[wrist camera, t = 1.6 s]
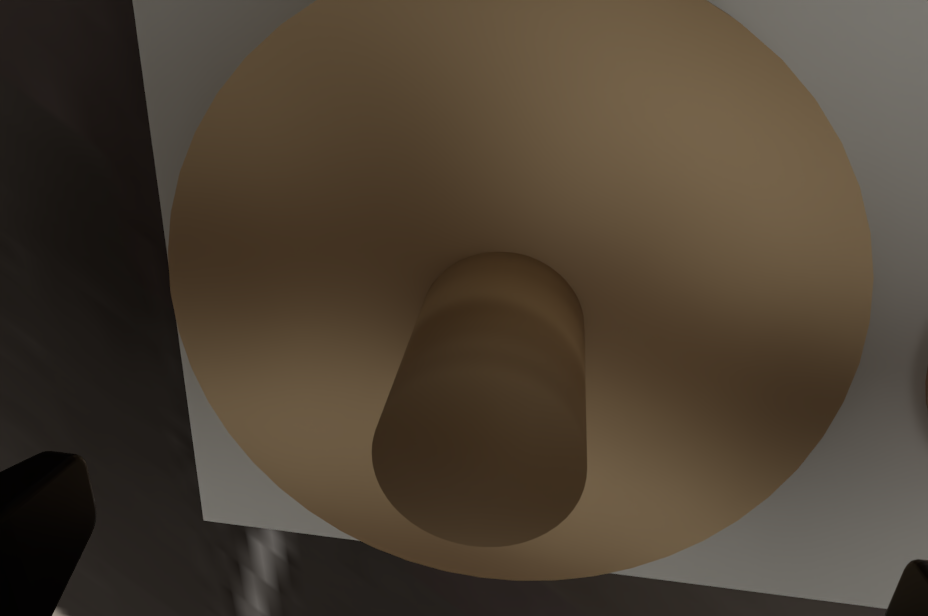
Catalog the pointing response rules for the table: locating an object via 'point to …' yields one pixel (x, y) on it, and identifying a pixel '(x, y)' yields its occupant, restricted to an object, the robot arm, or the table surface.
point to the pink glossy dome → (926, 388)
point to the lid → (521, 275)
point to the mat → (885, 349)
